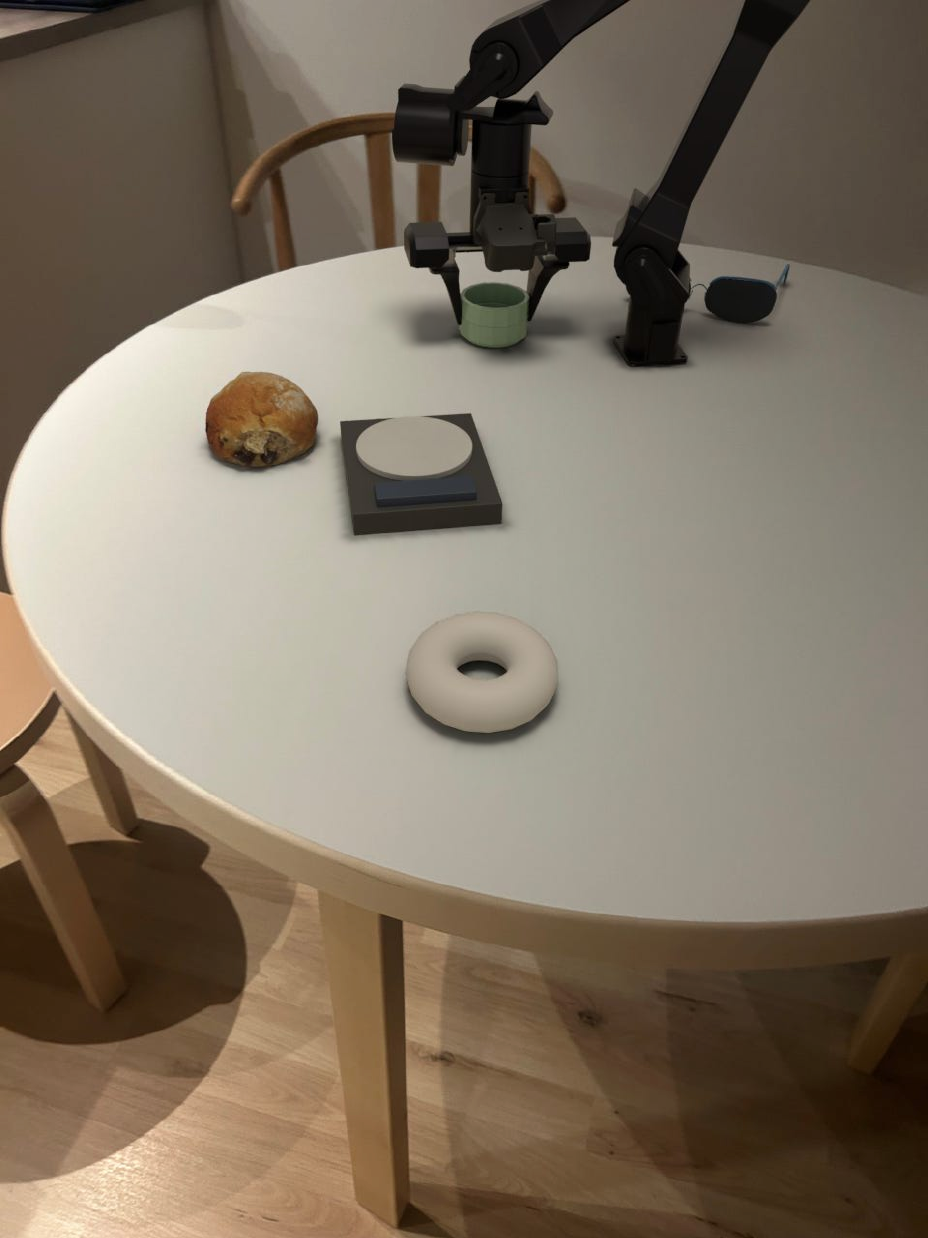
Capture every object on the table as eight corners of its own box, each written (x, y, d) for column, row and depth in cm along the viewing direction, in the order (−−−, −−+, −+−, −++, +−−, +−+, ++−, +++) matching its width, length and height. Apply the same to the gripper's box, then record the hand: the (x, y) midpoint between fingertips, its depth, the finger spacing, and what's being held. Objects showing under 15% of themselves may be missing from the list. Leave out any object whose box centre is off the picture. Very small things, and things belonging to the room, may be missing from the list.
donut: (543, 636, 68) (402, 640, 67) (548, 598, 66) (402, 602, 65) (567, 742, 60) (408, 747, 59) (573, 703, 58) (408, 708, 57)
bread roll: (332, 471, 90) (346, 386, 88) (271, 479, 81) (285, 383, 78) (244, 447, 93) (255, 363, 91) (176, 451, 84) (186, 358, 81)
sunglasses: (620, 302, 113) (627, 258, 110) (648, 276, 125) (655, 236, 122) (768, 328, 108) (779, 283, 106) (783, 299, 120) (793, 257, 117)
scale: (341, 440, 88) (339, 412, 86) (470, 431, 89) (471, 404, 87) (353, 535, 76) (352, 505, 75) (501, 523, 78) (503, 494, 76)
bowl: (455, 323, 108) (455, 283, 105) (518, 320, 109) (521, 280, 106) (465, 351, 102) (466, 310, 99) (532, 347, 103) (535, 307, 100)
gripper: (416, 197, 87) (417, 358, 97) (614, 191, 89) (595, 349, 100) (402, 162, 95) (404, 314, 105) (583, 158, 98) (569, 306, 108)
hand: (493, 321), depth 104 cm, fingers closed on bowl, 7 cm apart
